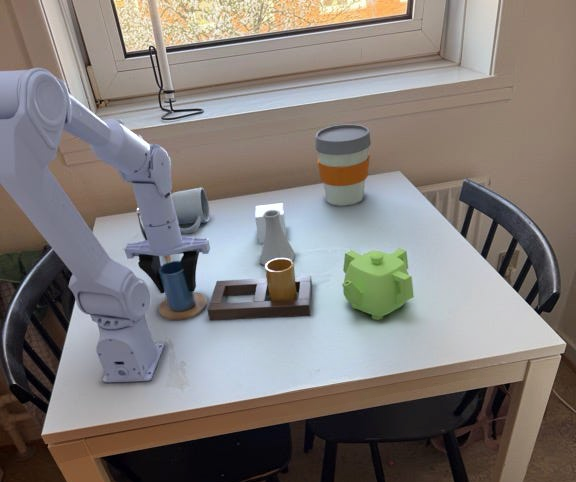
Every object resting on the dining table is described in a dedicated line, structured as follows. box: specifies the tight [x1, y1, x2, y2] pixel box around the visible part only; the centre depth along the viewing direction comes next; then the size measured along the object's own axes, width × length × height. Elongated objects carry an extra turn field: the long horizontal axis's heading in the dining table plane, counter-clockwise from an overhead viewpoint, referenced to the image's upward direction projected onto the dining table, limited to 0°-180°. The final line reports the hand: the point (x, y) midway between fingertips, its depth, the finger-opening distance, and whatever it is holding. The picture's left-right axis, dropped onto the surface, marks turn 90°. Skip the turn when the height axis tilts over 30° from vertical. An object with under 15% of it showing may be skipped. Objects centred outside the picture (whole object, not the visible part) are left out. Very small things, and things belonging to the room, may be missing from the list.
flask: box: [259, 210, 296, 266], centre depth 109 cm, size 7×7×10 cm
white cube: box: [254, 202, 287, 244], centre depth 119 cm, size 6×6×6 cm
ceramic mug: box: [171, 187, 210, 235], centre depth 128 cm, size 11×8×8 cm
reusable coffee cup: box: [314, 123, 372, 207], centre depth 128 cm, size 13×13×15 cm
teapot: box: [341, 248, 415, 321], centre depth 93 cm, size 12×12×10 cm
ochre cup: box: [264, 258, 298, 301], centre depth 98 cm, size 5×5×8 cm
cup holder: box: [207, 275, 313, 321], centre depth 100 cm, size 10×18×2 cm, turn 86°
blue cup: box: [158, 261, 195, 311], centre depth 100 cm, size 5×5×8 cm
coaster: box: [158, 291, 208, 321], centre depth 103 cm, size 9×9×1 cm
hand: (178, 289), depth 100 cm, fingers closed on blue cup, 5 cm apart
